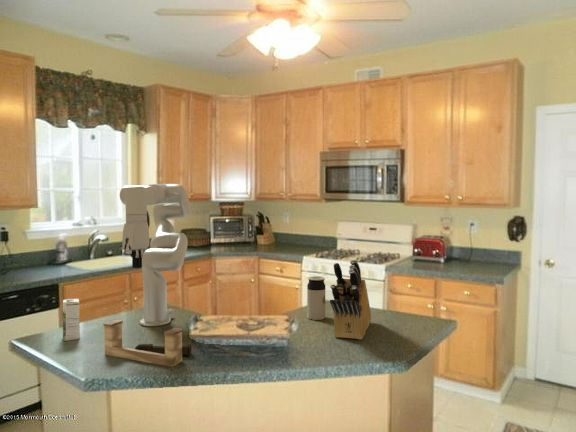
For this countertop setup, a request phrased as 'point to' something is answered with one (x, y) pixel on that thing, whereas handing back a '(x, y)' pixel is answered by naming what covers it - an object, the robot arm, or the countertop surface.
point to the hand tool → (162, 349)
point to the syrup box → (71, 319)
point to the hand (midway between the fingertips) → (137, 267)
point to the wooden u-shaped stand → (115, 349)
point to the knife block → (350, 304)
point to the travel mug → (316, 298)
